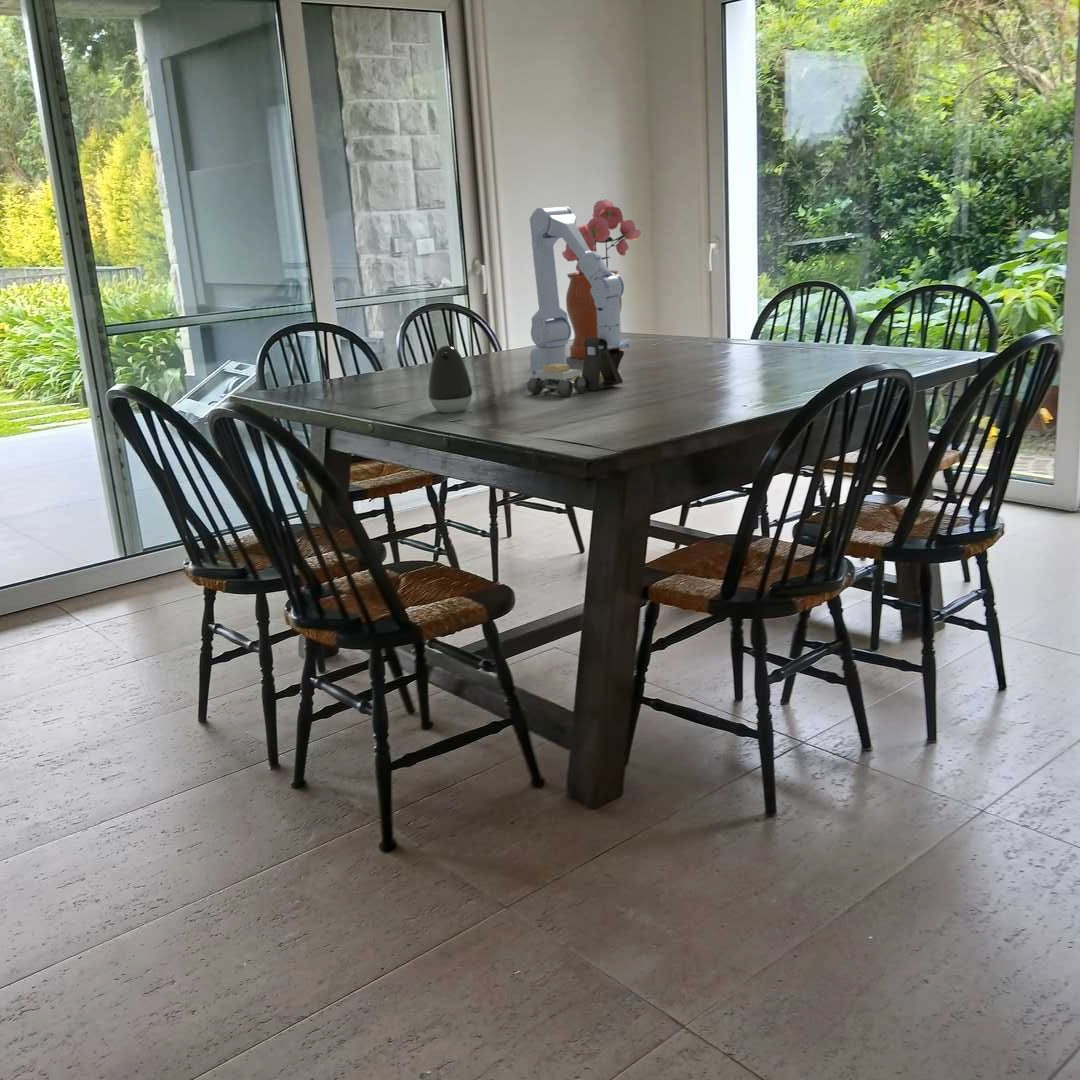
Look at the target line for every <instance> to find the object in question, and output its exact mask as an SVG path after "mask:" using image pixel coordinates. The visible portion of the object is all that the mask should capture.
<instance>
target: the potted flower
mask: <svg viewBox="0 0 1080 1080" xmlns="http://www.w3.org/2000/svg"><path fill="white" fill-rule="evenodd" d="M623 217H624V216H623V213H622V210H621V208H620V207H618V206H615V205H614V204H613V201H611V200H608V199H603V200H602V199H601V200H597V201H596V202H595V204H594V205H593V214H592V218H591V219H590V220H589V221H588V223H586V224H584V223H583V224H581V225H577V228H578V230H579V232H580V233H581V235H582V237H583V239H584V240H585V242H586V244H587V246H588V247H589V249H590V251H592V252H597V243H599V244H600V243H601V244H603V243H605V257H604V256H603V257H601V259H602V260H605V261H606V266H607V268H608V269H609V263H608V262H609V261H608V258H611V256H608V250H609V249H610V248H611V247H615V248H616V249H615V250H616V251H617V253H618V254H619V256H623V257H624V256H626V251H628V250H629V245H628V243H627V240H629V241H630V240H631V241H633V240H638V239H639V237H640V236H641V235H642V234H641V230H640V229H637V228H636V225H635V222H634V221H633V220H631V219H629V220H624V218H623ZM619 224H620V227H619V232H620V234H621V236H618V237H617V238H615V239H613V238H612V237H611V236H610V235H611V231H612V230H616V229H617V227H618V225H619ZM614 241H615V242H614ZM610 242H611V245H610V246H607V244H608V243H610ZM613 242H614V243H613ZM615 244H616V245H615ZM561 255H562V257H563V258H564V259H565V260H566V261H567V262H574V261H576V262H577V263H576V266H575V269H576V272H569V273H567V275H566V276H567V278H568V279H569V284H568V287H567V291H566V296H565V299H566V300H565V305H566V311H567V312H566V313H567V317H568V320H570V321H569V323H570V325H571V328H572V330H573V335H574V337H573V340H572V344H571V345H570V346H569V352H570V353H569V354H570V358H572V359H579V360H581V359H582V360H584V357H585V346H584V341H585V339H586V338H590V337H593V338H598V328H597V308H596V307H595V305H594V299H593V297H592V295H591V291H590V289H591V288H592V286H591V284H590V283H589V281H588V280H587V278H586V277H585V275H584V274H583V272H582V271H581V269H580V268H579V266H578V263H579V258H578V257H577V256H576V255H575V253H574V252H573V251H572V249H571V248H570V247H569V246H568V244H567V243H566V244H565V250H563V251H562V254H561ZM609 270H610V269H609ZM610 272H613V273H614V274H617V275H618V273H619V271H618V270H610ZM622 299H623V298H622V296H621V297H619V303H620V314H621V313H622V303H623V302H622ZM608 349H611V348H608ZM619 351H623V349H619Z"/></svg>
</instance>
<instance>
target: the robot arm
mask: <svg viewBox="0 0 1080 1080" xmlns="http://www.w3.org/2000/svg"><path fill="white" fill-rule="evenodd" d="M576 224H577V217H576V215H575V214H574V212H573V211H572V209H571V207H569V206H567V205H562V206H557V207H556V206H555V207H554V206H553V207H538V208H536V209H534V211H533V212H532V214H531V216H530V217H529V225H530V234H531V247H532V249H531V250H532V257H533V264H534V265H533V266H534V275H535V285H536V286H535V287H536V292H537V293H536V294H537V301H538V310H537V311H536V312H535V314H534V315H532V316H531V328H530V336H531V340H532V342H533V343H534V344H535V346H534V347H533V348H532V349H531V351H530V355H529V356H530V357H529V358H530V360H529V361H530V374H531V375H530V376H531V377H529V380H530V379H531V378H533V377H534V378H536V371H540V370H543V366H544V365H549V364H554V363H555V364H568V363H567V349H566V347H567V346H566V345H568V341H569V340H570V339H571V337H572V325H571V323H570V321H569V316H568V312H566V311H565V310H563V309H562V308H561V306H560V298H559V291H558V290H559V289H558V279H557V270H556V268H557V267H556V259H555V250H554V246H555V244H556V243H557V242H558V240H559V239H561V238H562V240H563V241H564V242H565V243H566V244H568V246H569V247H570V248H571V249H572V251H573V252H574V253H575V255H576V256H577V257H578V258H579V263H578V262H577V263H578V266H579V268H580V269H581V271H582V272H583V274H584V275H585V277H586V278H587V280H588V281H589V283H590V284H591V286H592V288H591V289H590V291H591V295H592V297H593V299H594V305H595V307H596V308H597V328H598V338H601V339H605V340H606V341H607V347H608V348H611V349H608V351H609V353H610V355H611V357H612V360H613V362H614V364H615V366H616V368H617V370H618V371H619V367H620V364H621V361H622V359H623V357H624V355H625V354H624V353H625V351H624V350H623V349H626V348H627V349H629V348H632V347H633V345H632V339H622V335H621V334H622V331H621V313H620V303H619V297H621V298H622V296H623V294H624V290H625V285H624V281H623V279H622V278H621V276H620V275H619V274H618V273H617V274H614V273H613V272H610V269H609V267H608V268H607V264H605V262H604V261H603V260H604V259H603V260H602V259H601V258H602V256H601V254H600V253H598V252H597V251H596V252H592V251H590V249H589V247H588V246H587V244H586V242H585V240H584V239H583V237H582V235H581V233H580V232H579V230H578V228H577V227H578V225H576ZM549 319H550V320H549ZM598 347H599V349H603V348H604V346H600V345H598ZM587 349H588V355H596V348H595V347H591V346H590V347H587ZM619 349H622V351H619ZM540 379H541V380H542V381H543V382H545V378H540Z"/></svg>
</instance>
